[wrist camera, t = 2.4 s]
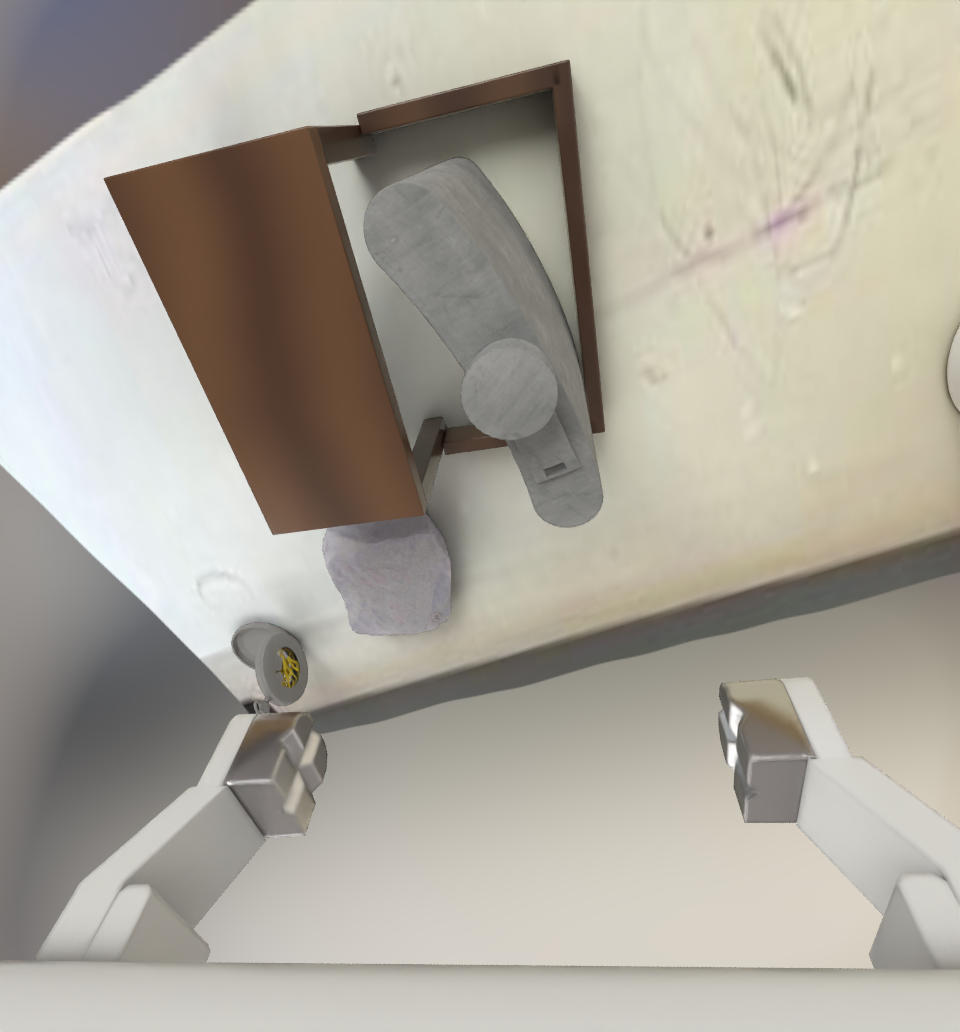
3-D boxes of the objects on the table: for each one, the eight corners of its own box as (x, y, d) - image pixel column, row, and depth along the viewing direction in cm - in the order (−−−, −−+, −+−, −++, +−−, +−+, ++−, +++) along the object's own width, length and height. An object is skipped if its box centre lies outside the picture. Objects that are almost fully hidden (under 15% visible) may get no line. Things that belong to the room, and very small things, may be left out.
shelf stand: (567, 63, 32) (580, 39, 23) (601, 417, 43) (619, 498, 34) (210, 154, 36) (96, 165, 26) (327, 458, 47) (275, 541, 38)
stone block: (435, 490, 50) (318, 515, 50) (439, 522, 46) (312, 549, 46) (461, 593, 56) (359, 616, 56) (467, 629, 52) (357, 653, 52)
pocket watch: (225, 647, 60) (176, 731, 52) (256, 597, 56) (208, 680, 48) (298, 681, 62) (262, 767, 54) (333, 636, 58) (299, 722, 50)
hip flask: (423, 177, 36) (324, 226, 19) (480, 135, 34) (429, 149, 18) (546, 395, 43) (553, 570, 26) (598, 368, 41) (641, 535, 25)
